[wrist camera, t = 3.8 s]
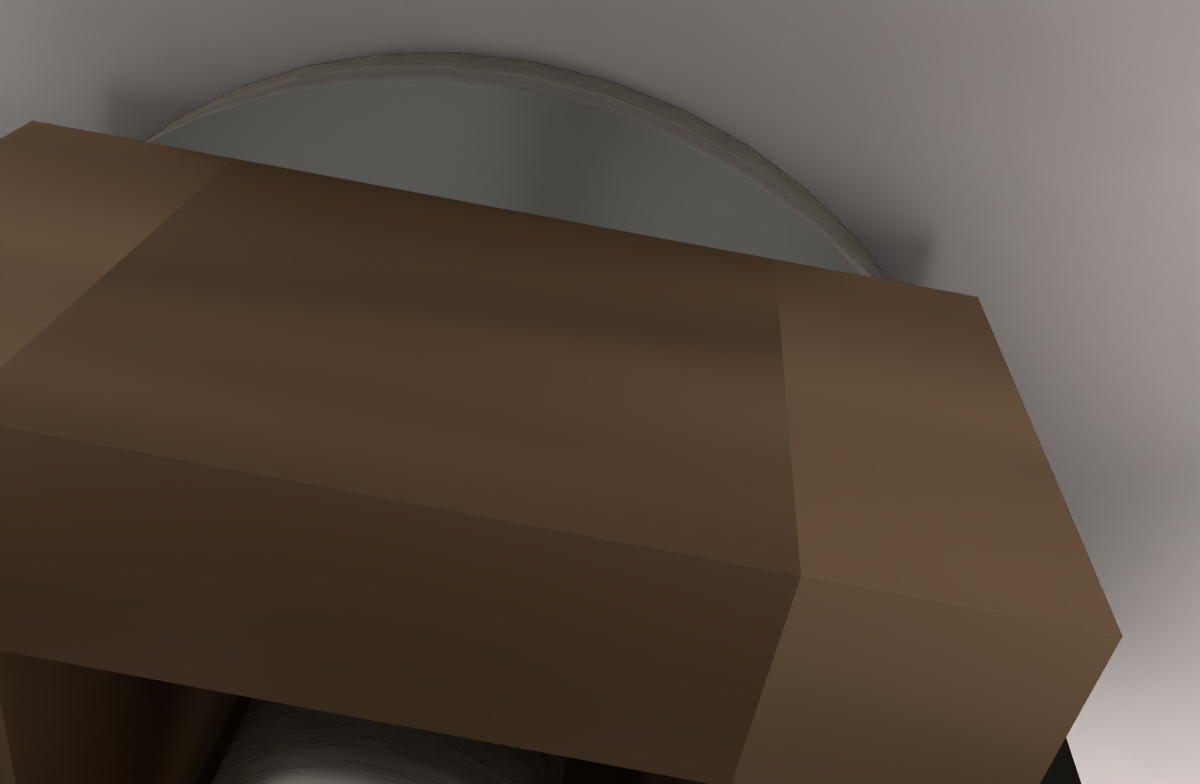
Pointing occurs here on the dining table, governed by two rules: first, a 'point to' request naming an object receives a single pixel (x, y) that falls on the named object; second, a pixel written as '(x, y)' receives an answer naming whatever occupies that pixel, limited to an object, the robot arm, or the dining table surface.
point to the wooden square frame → (505, 490)
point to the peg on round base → (509, 181)
